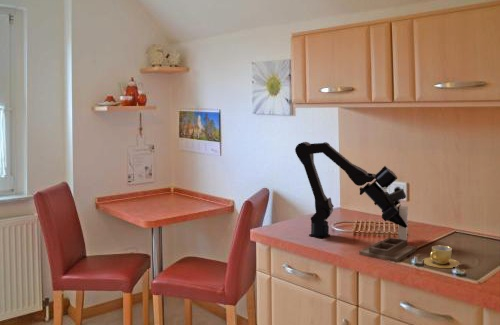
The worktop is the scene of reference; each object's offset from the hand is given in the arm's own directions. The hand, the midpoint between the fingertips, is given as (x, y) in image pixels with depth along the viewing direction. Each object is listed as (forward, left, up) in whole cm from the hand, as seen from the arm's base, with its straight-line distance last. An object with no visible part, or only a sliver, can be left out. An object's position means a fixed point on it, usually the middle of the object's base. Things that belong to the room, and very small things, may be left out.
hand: (406, 225), depth 197 cm
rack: (+2, -16, -7) cm, 17 cm away
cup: (+21, -14, -7) cm, 26 cm away
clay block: (-1, -1, -7) cm, 7 cm away
